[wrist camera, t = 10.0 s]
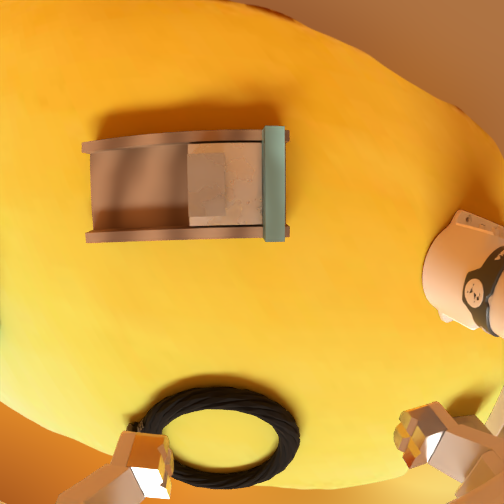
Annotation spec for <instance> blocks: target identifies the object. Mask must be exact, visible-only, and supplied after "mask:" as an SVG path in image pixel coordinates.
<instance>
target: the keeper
mask: <svg viewBox="0 0 504 504" xmlns="http://www.w3.org/2000/svg"><path fill="white" fill-rule="evenodd" d="M187 177H188V214H189V222H190V226H211V225H254V224H262V143H207V144H188V154H187Z"/></svg>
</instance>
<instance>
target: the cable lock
mask: <svg viewBox="0 0 504 504" xmlns="http://www.w3.org/2000/svg"><path fill="white" fill-rule="evenodd" d="M204 409H223V410H236V411H239V412H243V413H247V414H251V415H254V416H257V417H258V418H260V419H262V420H264V421H265V422H267V423H269V424H270V425H272V426H273V428H274V429H275V431H276V432H277V434H278V436H279V445H278V449H277V451H276V452H275V453H274V455H273V456H272V457H271V458H270V459H268V460H267V461H266V462H265V463H263V464H262V465H260V466H257V467H255V468H253V469H251V470H248V471H245V472H238V473H232V474H214V473H205V472H201V471H198V470H195V469H191V468H188V467H185V466H183V465H182V464H180V463H179V462H178V461H176V460H175V459H174V470H173V475H172V476H171V477H173V478H174V479H176V480H180V481H182V482H185V483H187V484H190V485H193V486H195V487H204V488H210V489H237V488H244V487H250V486H252V485H255V484H257V483H261V482H264V481H267V480H270V479H271V478H272V477H274V476H275V475H276V474H278V473H280V472H282V471H283V470H284V469H285V468H286V467H287V466H288V464H289V463H290V462H291V461H292V460H293V458H294V456H295V454H296V452H297V450H298V448H299V445H300V439H299V437H300V433H299V428H298V426H297V425H296V423H295V419H294V418H293V417H292V415H291V414H290V413H289V412H288V411H286V409H285V408H283V407H282V406H281V405H280V404H278V403H277V402H274V401H272V400H270V399H268V398H266V397H265V396H264V395H261V394H258V393H255V392H252V391H249V390H242V389H236V388H232V387H212V388H194V389H190V390H187V391H183V392H180V393H177V394H175V395H173V396H170V397H166V398H165V399H163V400H162V401H160V402H159V403H157V404H156V405H154V406H153V408H152V409H151V410H150V411H149V412H148V413H147V415H146V416H145V417H144V418H143V419H142V420H141V421H140V423H137V422H135V424H134V426H133V425H132V424H131V423H129V425H128V426H127V429H126V431H131V432H140V433H148V434H158V435H162V430H163V428H164V427H165V426H166V425H168V424H169V423H170V422H171V421H172V420H174V419H175V418H177V417H179V416H181V415H183V414H187V413H191V412H194V411H199V410H204Z"/></svg>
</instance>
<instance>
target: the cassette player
mask: <svg viewBox="0 0 504 504" xmlns="http://www.w3.org/2000/svg"><path fill="white" fill-rule="evenodd" d="M452 418H453V419H454V420H455V421H456V423H457V424H458V425H460V424H463V425H465V426H468V427H471V428H474V429H476V430H479V431H482V432H485V433H488V434H491V435H493V434H492V433H491V432H490V431H489V430H488V428H487V427H486V426H485V425H484V424H483V423H482V422H481V421H480V420H479V419H478V418H477V417H476V416H475V415H469V416H461V417H452Z"/></svg>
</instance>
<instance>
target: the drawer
mask: <svg viewBox="0 0 504 504" xmlns="http://www.w3.org/2000/svg"><path fill="white" fill-rule="evenodd" d="M288 141H289V130H285V126H264V128H263V129H262V130H203V131H183V132H168V133H156V134H145V135H135V136H126V137H118V138H110V139H103V140H96V141H89V142H83V143H82V153H88V154H90V173H91V201H92V217H93V230H92V231H89V232H87V233H85V235H86V243H101V242H127V241H156V240H187V239H224V238H264V240H265V242H285V237H289V234H290V226H288V225H287V224H286V158H285V143H287V142H288ZM207 143H262V224H254V225H211V226H190V222H189V214H188V177H187V154H188V144H207Z"/></svg>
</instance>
